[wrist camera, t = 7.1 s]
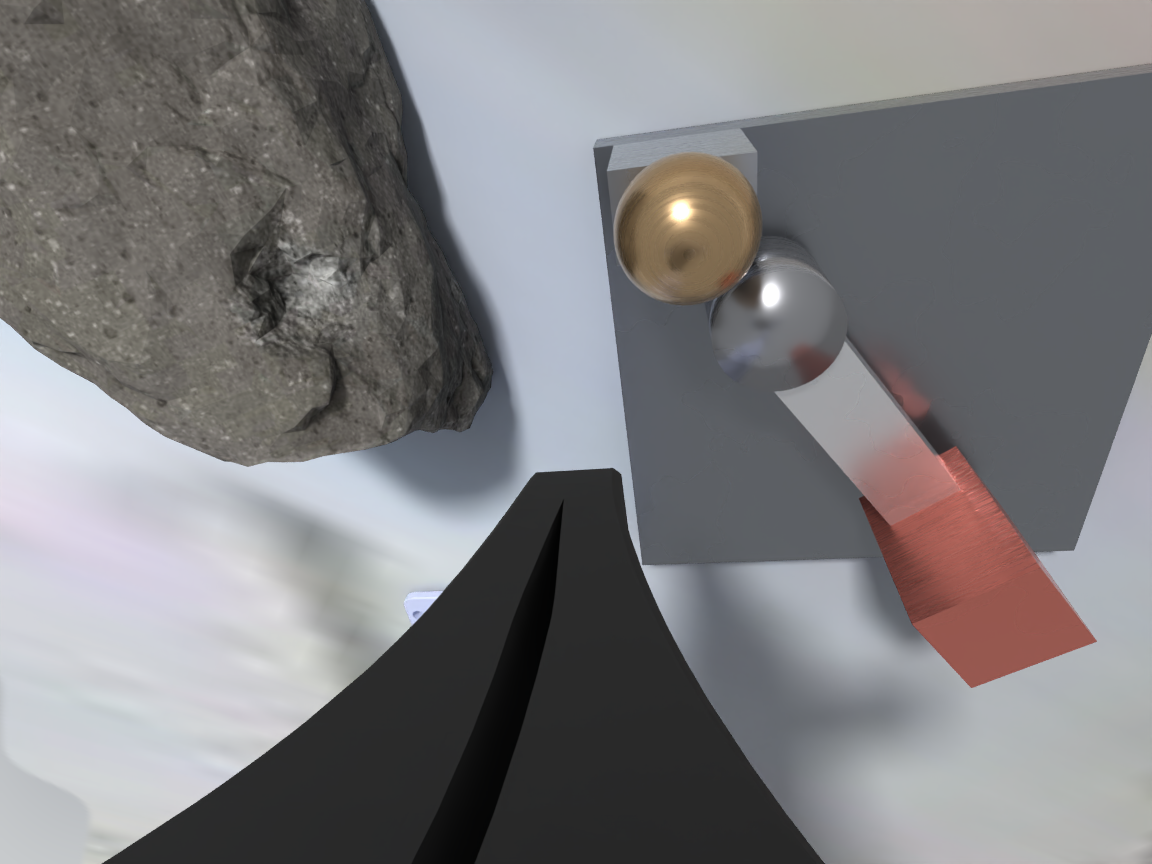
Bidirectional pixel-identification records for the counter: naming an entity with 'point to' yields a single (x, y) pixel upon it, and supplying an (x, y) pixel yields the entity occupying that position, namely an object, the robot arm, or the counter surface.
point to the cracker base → (887, 301)
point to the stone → (227, 225)
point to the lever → (895, 473)
